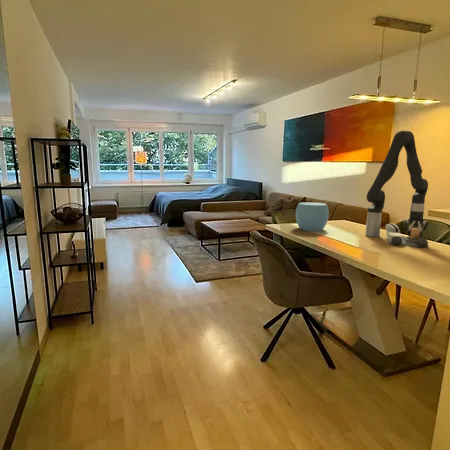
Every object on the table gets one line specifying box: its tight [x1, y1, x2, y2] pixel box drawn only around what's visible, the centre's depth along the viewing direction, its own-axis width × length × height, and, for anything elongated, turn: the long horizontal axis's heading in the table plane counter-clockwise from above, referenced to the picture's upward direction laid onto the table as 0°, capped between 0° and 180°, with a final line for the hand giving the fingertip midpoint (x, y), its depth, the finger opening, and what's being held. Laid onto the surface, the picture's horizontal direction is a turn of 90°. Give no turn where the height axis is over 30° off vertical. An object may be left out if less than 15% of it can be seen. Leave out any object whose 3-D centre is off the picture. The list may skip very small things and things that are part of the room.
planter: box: [295, 201, 330, 232], centre depth 255 cm, size 25×25×20 cm
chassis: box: [385, 231, 430, 249], centre depth 212 cm, size 22×20×6 cm
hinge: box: [385, 222, 404, 239], centre depth 236 cm, size 17×5×10 cm, turn 175°
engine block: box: [408, 227, 420, 239], centre depth 210 cm, size 5×5×6 cm
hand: (414, 236), depth 210 cm, fingers closed on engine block, 5 cm apart
